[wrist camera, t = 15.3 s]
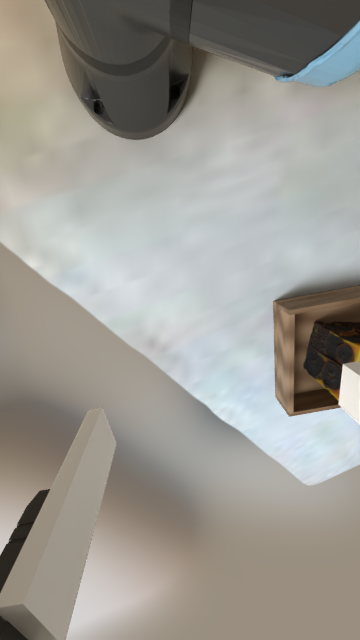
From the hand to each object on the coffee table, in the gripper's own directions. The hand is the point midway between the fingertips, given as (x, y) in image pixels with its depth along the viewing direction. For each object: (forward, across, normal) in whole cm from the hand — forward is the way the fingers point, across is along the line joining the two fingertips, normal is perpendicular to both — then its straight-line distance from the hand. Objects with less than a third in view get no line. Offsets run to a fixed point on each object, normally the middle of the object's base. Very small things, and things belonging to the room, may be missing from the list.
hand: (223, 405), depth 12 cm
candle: (+26, +26, -15) cm, 40 cm away
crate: (+27, +26, -15) cm, 40 cm away
